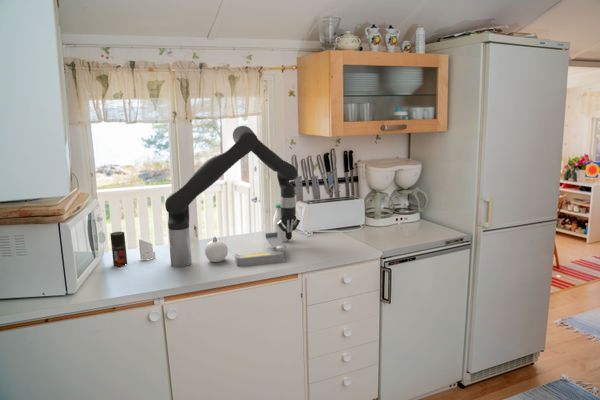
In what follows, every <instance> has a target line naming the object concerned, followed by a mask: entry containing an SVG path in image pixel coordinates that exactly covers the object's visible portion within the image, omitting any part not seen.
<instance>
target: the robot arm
mask: <svg viewBox="0 0 600 400" xmlns="http://www.w3.org/2000/svg"><path fill="white" fill-rule="evenodd" d="M232 139H233V142H234V144H233V145H232V146H231V147H230V148H229V149H228V150H226V151H224V152H223V153H221V154H217V155H215V156H212V157H210V158H208V159H207V160H206V161H205V162H204V163H203V164H202V165H201V166H199V168H198V169H196V171H195V172H194V173H193V174H192V175H191V176H190V178H189V180H187V182H186V183H185V184H184V185H183V186H182V187H180V188H179V189H178V190H177V191H173V192H172V193H171V194H170V195H169V196H168V197H167V198H166V200H165V201H164V205H165V206H164V207H165V210H166V212H167V213H168V220H167V221H168V222H167V228H168V239H169V240H168V241H169V254H170V267H172V268H174V267H175V268H182V267H187V266H189V265H192V248H191V245H192V244H191V234H190V233H191V232H190V206H189V205H190V204H191V203H193V201H194V200H195V199H196V198H198V196H199V195H201V194H202V193H204V192H205V191H206V190H207V189H209V188H210V187H211V186H212V185H213V184H214V183H216V182H217V181H218V180H219V179H220V178H221V177H222V176H223V175H224V174H225V173H226V172H228V170H230V169H231V168H232V167H233V166H234V165H235V164H236V163H237V162H239V161H240V160H242V159H243V158H244V157H245V156H246V155H248V154H249V153H251V152H252V153H253V154H254V155H255V156H256V157H257V158H258V159H259V160H260V161H261V162H262V163H263V164H265V165H266V167H268V168H269V169H270V170H271V171H273V172H275V173H276V177H277V182H278V185H279V188H280V203H279V204H280V206H281V218H280V221H279V222H277V223H276V224H277V225H278V226H279V228H280V229H281V230H282V231H284V232H285V233H286V238H287V239H288V240H291V239H292V237H293V234H292V233H293V231H296V229H297V228H298V226H299V224H300V222H301V220H300V219H298V218H297V216H296V214H297V208H296V207H297V205H296V204H297V203H296V188H295V186H294V185H293V184H292V183H291V182H290V181H295V180H296V179H297V178H298V170H297V167H295V166H294V165H293V164H291V163H289V162H287V160H284V159H283V158H281V157H280V156H279V155H278V154H277V153H275V152H274V151H273V150H271V149H270V148H269V147H268V146H267V145H266V144H264V143H263V142H261V141H260V139H259V138H258V136H257V134H256V133H255V132H254V131H253V130H252V129H251V128H250V127H249V126H247V125H239V126H236V127H235V128H234V129H233V131H232ZM282 223H283V224H284V227H285V228H284V227H283V226H282Z"/></svg>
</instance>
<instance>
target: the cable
mask: <svg viewBox="0 0 600 400" xmlns="http://www.w3.org/2000/svg"><path fill="white" fill-rule="evenodd" d="M262 255H271V254H270V253H264V254H255V255H246V256H244V257H253V256H262Z"/></svg>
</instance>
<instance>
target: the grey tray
mask: <svg viewBox="0 0 600 400" xmlns="http://www.w3.org/2000/svg"><path fill="white" fill-rule="evenodd" d="M264 253H270V254H271V255H262V256H253V257H244V256H246V255H255V254H264ZM232 257H233V259H234V261H235V264H236V266H237V267H245V266H253V265H263V264H272V263H281V262H285V261H286V260H285V259H284V250H282V251H278V250H272V251H271V250H270V251H261V252H251V253H244V254H243V253H242V254H239V253H234V254H233V255H232Z"/></svg>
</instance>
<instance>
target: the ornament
mask: <svg viewBox="0 0 600 400" xmlns="http://www.w3.org/2000/svg"><path fill="white" fill-rule="evenodd" d="M228 253H229V250H228V246H227V244H226V243H225V242H224V241H223V240H220V239H217V237H216V236H213V238H212V240H211V241H209V242H208V243H207V244H206V246H205V249H204V254H205V256H206V259H207V260H209V261H210V262H213V263H221V262H223V261H224V260H226V258H227V256H228Z"/></svg>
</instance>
